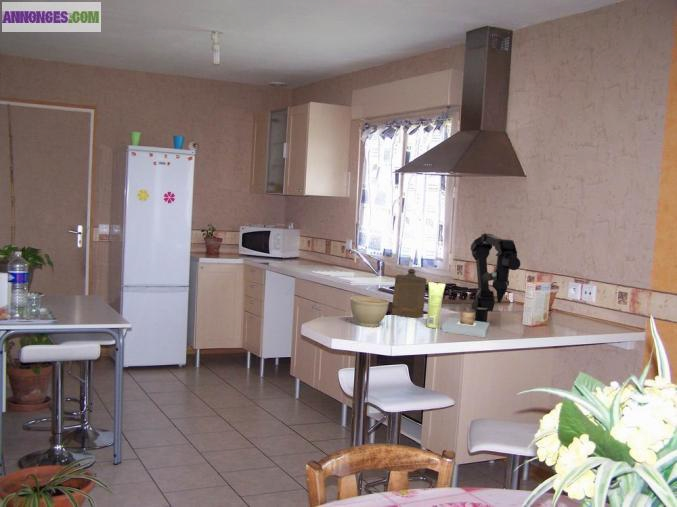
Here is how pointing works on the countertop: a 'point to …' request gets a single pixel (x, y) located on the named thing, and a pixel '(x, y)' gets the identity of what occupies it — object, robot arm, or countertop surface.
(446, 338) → the countertop surface
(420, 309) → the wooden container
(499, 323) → the countertop surface
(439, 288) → the tube
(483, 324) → the pale blue flat block
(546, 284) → the cracker box
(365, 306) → the planter bowl
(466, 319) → the cream rounded piece
